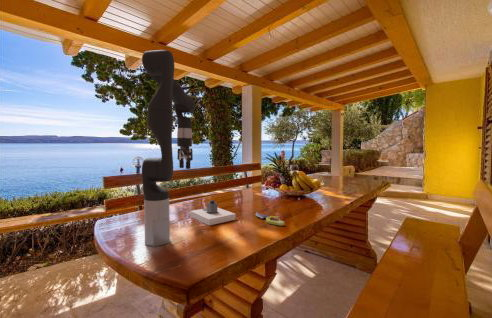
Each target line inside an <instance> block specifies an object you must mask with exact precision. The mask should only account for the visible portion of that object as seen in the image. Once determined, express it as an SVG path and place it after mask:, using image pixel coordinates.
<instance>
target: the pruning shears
mask: <svg viewBox="0 0 492 318" xmlns="http://www.w3.org/2000/svg"><path fill="white" fill-rule="evenodd" d="M255 216H256V217H258V218H260V219H265V222H266V223H267V224H270V225H273V226H279V227H280V226H282V227H283V226H285V224H286V223H285V221H283V220H279V217H278V216H276V215H275V216H274V215H269V214H266V215H265V214H262V213H259V211H256V213H255Z"/></svg>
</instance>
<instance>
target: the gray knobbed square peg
mask: <svg viewBox="0 0 492 318" xmlns="http://www.w3.org/2000/svg"><path fill="white" fill-rule="evenodd" d="M217 207H218V203H217V202H215V199H210V200H209V202H207V203H206V208H207V213H208V214H215V213H217Z"/></svg>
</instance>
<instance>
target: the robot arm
mask: <svg viewBox="0 0 492 318" xmlns="http://www.w3.org/2000/svg"><path fill="white" fill-rule="evenodd" d="M141 56H142V57H141V60H142V61H141V62H142V67H143V69H144V71H145V72H146V73H147V75H148V76H149V77H151V78H152V79H153V80H154V81H155V82H156V83H157V84H158V88H157V89H156V92H155V93H154V95H153V96H152V98H151V100H150V101H149V102H148V105H147V115H146V116H147V126H148V128H149V130H150V132H151V133H152V135H153V136H154V137H155V139H156V141H157V142H158V145H159V147H160V152H161V154H160V155H161V157H147V158H145V159H144V160H143V162H142V164H141V179H142V192H143V200H144V205H143V207H144V209H143V210H144V244H145V245H146V246H150V247H152V248H153V247H154V248H155V247H159V246H162V245H167V244H169V243H170V242H171V241H170V240H171V239H170V237H171V235H170V233H171V232H170V229H171V228H170V191H169V190H168V189H165V188H163V187H161V186H159V185H158V184H157V182H170V181H171V180H172V178H173V175H174V161H173V160H174V159H173V158H174V157H173V138H172V136H173V135H172V134H173V107H174V111H175V114H176V119H177V133H176V134H177V135H176V136H177V137H176V146H177V147H180V148H177V158H176V159H177V160H178V162H179V166H178V167H179V169H184V168H185V169H187V170H190V169H191V162H192V161H193V159H194V158H193V157H194V156H193V155H194V154H193V148H191V147H193V130H192V124H193V123H192V118H191V117H188V116H184V113H185V114H187V113H189V114H190V113H193V112H194V111H195V110H196V103H195V100H193V98H192V97H190V95H188V93H186V92H185V90H184V89H183V86H182V85H181V84H180V83H178V82H177V81H176V80H174V79H175V58H174V55H173V53H172V51H170V50H167V49H159V50H158V49H157V50H147V51H144V52H143V54H142V55H141ZM184 165H185V166H184Z"/></svg>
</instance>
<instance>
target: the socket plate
mask: <svg viewBox="0 0 492 318" xmlns="http://www.w3.org/2000/svg"><path fill="white" fill-rule="evenodd" d="M189 212H190V213H189V214H190V215H189V216H190V217H191V218H192V219H195V220H197V221H199V222H201V223H203V224H205V225H206V226H213V225H217V224H221V223H226V222H230V221H235V220H236V213H234V212H231V211H228V210H226V209H223V208H220V207H218V206H217V213H215V214H208V213H207V207H206V208H200V209H193V210H190V211H189Z"/></svg>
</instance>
